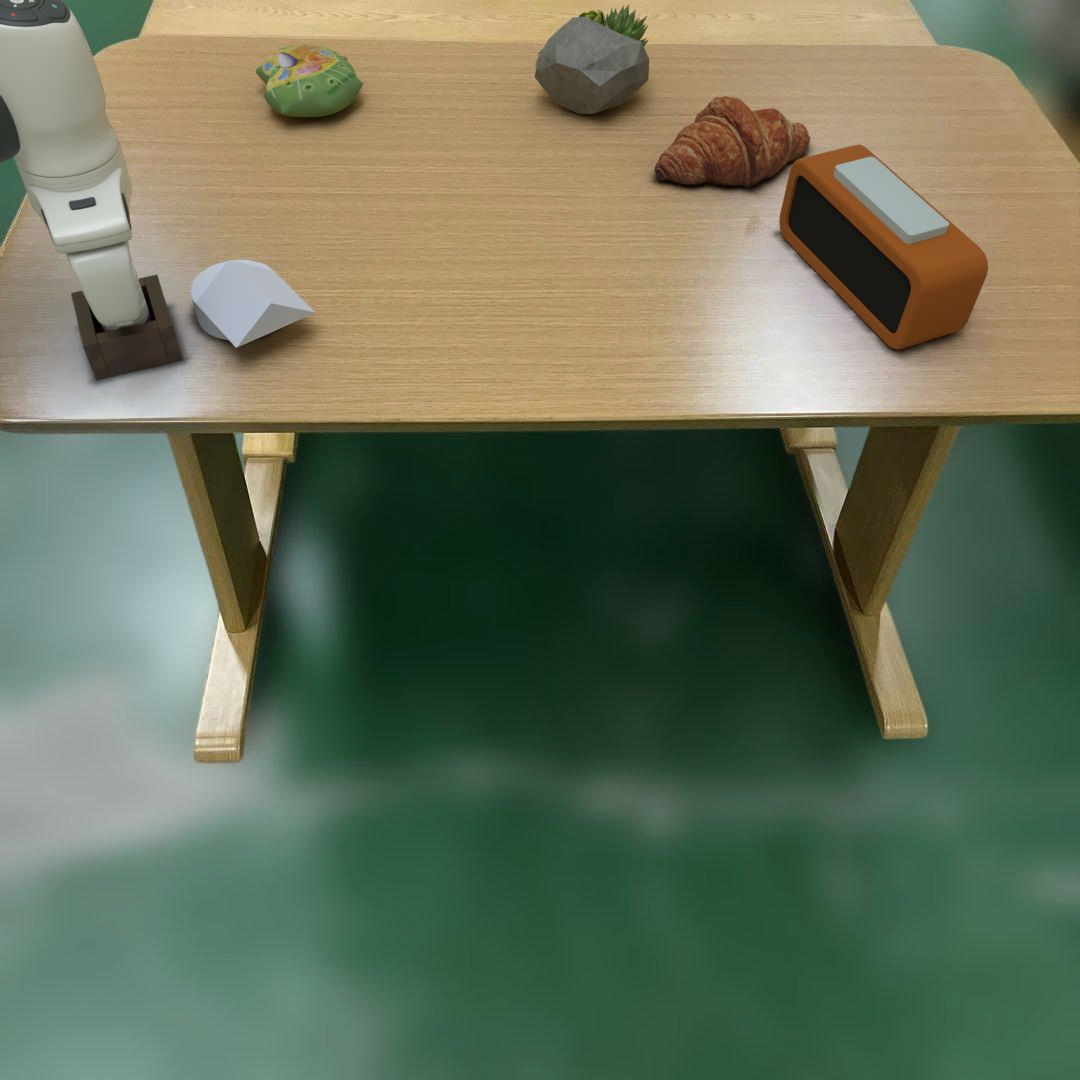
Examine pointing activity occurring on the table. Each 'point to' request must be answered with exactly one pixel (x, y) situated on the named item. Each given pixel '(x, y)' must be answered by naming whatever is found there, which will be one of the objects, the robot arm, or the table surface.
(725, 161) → the pastry
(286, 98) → the educational model
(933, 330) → the alarm clock
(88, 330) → the socket
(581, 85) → the potted plant
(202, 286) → the wedge on round base
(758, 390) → the table surface
